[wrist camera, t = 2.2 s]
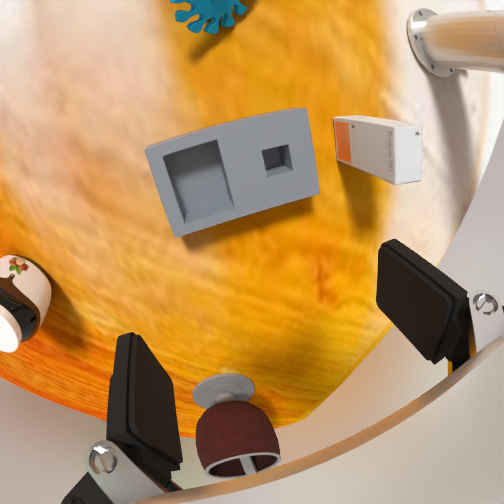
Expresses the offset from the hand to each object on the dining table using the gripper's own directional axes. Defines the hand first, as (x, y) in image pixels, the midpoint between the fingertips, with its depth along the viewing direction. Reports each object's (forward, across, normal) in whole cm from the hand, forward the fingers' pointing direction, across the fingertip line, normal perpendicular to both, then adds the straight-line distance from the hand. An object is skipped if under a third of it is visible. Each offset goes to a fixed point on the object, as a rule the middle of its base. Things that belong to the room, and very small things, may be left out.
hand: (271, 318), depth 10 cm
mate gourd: (+26, +9, +41) cm, 49 cm away
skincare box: (+25, -19, 0) cm, 31 cm away
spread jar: (+26, +31, +4) cm, 40 cm away
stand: (+25, -4, 0) cm, 25 cm away
